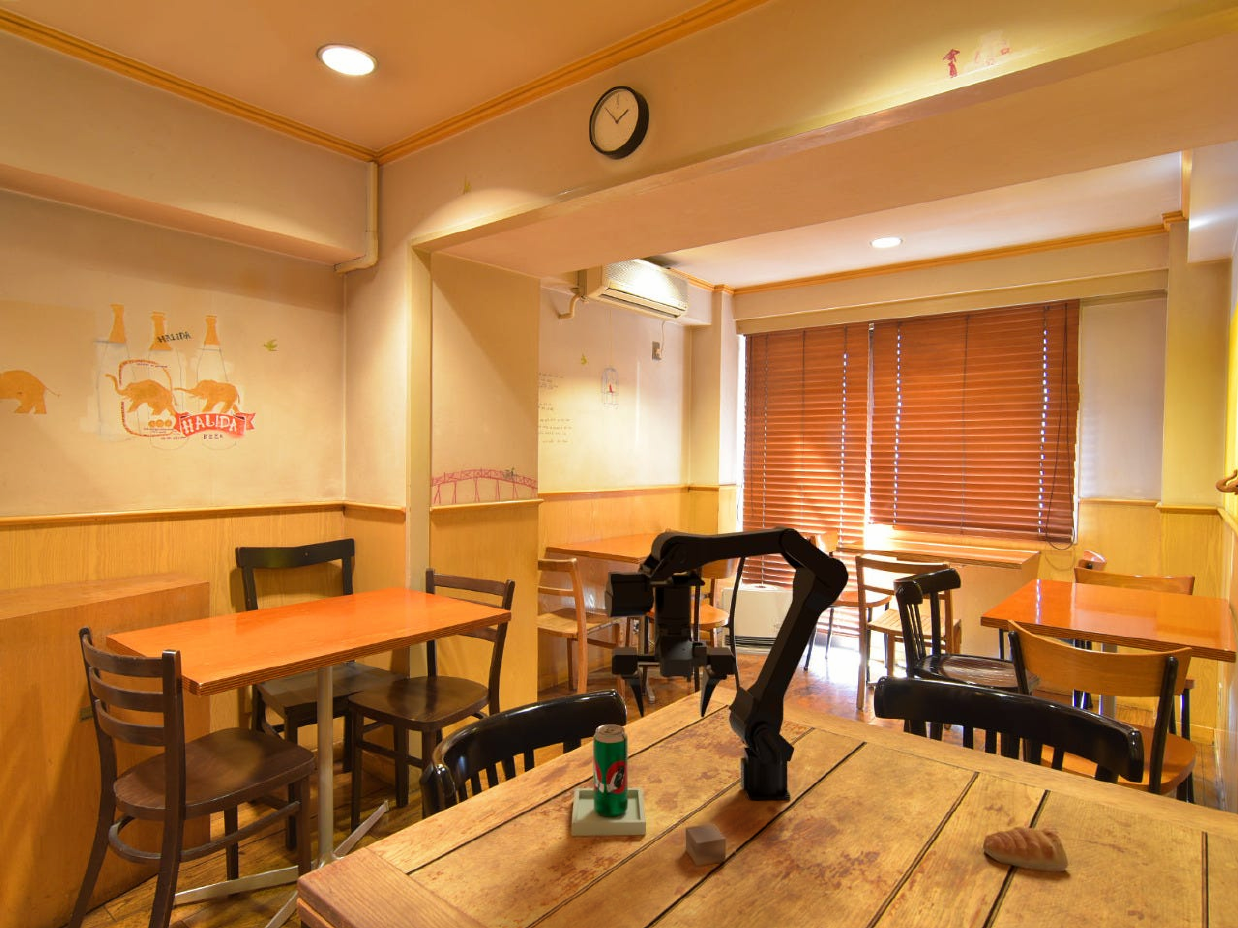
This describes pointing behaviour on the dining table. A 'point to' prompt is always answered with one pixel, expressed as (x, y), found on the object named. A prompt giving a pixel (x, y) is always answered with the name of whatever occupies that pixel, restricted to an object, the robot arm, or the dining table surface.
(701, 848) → the small brown cube
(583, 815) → the tray
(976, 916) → the dining table surface
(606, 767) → the soda can
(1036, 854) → the pastry
